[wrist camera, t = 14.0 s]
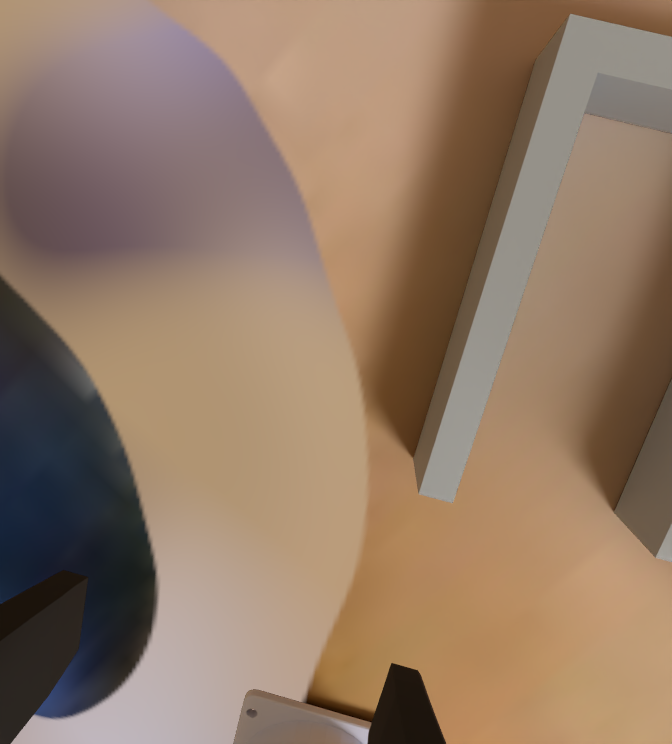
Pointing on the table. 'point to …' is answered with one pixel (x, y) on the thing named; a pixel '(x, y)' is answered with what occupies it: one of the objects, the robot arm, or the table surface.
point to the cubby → (521, 243)
